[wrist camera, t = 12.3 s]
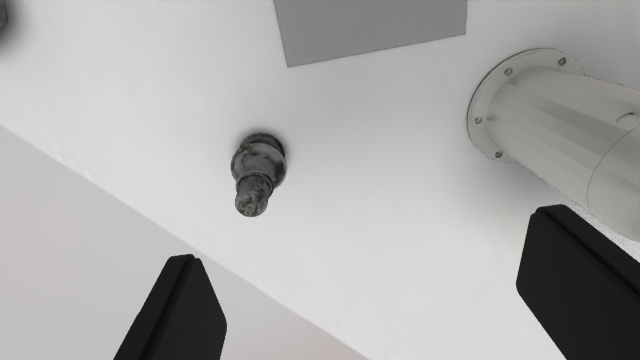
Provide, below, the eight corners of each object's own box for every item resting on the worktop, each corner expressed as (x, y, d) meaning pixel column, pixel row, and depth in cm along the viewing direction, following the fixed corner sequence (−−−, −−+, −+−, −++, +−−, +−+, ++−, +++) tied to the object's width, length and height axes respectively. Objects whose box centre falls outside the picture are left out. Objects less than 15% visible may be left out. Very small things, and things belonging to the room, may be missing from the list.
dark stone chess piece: (225, 147, 37) (197, 205, 26) (268, 121, 36) (257, 171, 25) (255, 185, 39) (241, 252, 29) (297, 162, 38) (297, 223, 28)
